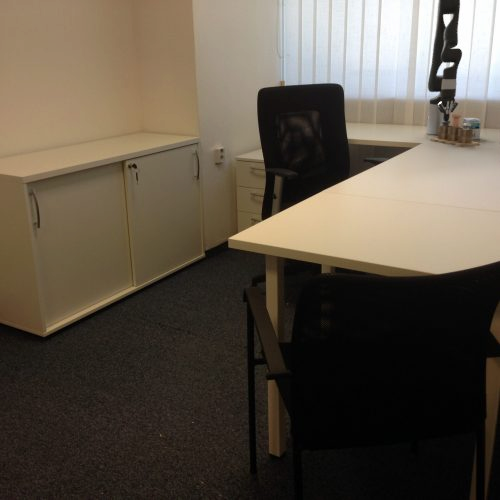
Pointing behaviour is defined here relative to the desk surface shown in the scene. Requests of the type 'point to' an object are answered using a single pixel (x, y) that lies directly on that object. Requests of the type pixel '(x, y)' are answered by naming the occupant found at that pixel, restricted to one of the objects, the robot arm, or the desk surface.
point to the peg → (445, 123)
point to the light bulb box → (474, 126)
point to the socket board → (455, 136)
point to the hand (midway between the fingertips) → (446, 120)
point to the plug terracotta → (456, 120)
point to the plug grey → (466, 126)
